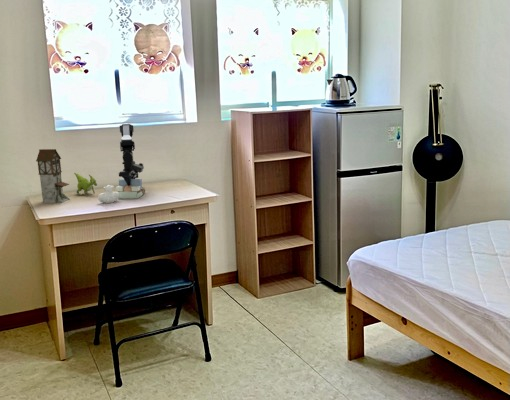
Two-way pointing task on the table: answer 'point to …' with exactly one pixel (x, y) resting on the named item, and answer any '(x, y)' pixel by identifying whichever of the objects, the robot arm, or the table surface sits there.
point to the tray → (129, 195)
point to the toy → (85, 184)
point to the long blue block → (133, 182)
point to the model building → (51, 176)
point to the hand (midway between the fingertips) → (130, 185)
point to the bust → (108, 195)
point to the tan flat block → (137, 191)
